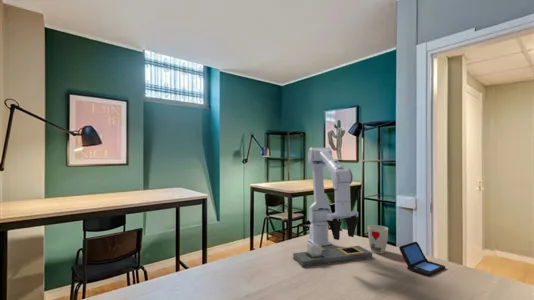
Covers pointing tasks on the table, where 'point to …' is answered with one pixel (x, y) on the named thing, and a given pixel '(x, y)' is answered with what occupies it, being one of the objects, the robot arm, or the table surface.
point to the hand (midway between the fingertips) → (343, 237)
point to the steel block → (314, 250)
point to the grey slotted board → (333, 256)
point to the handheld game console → (419, 260)
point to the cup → (377, 238)
